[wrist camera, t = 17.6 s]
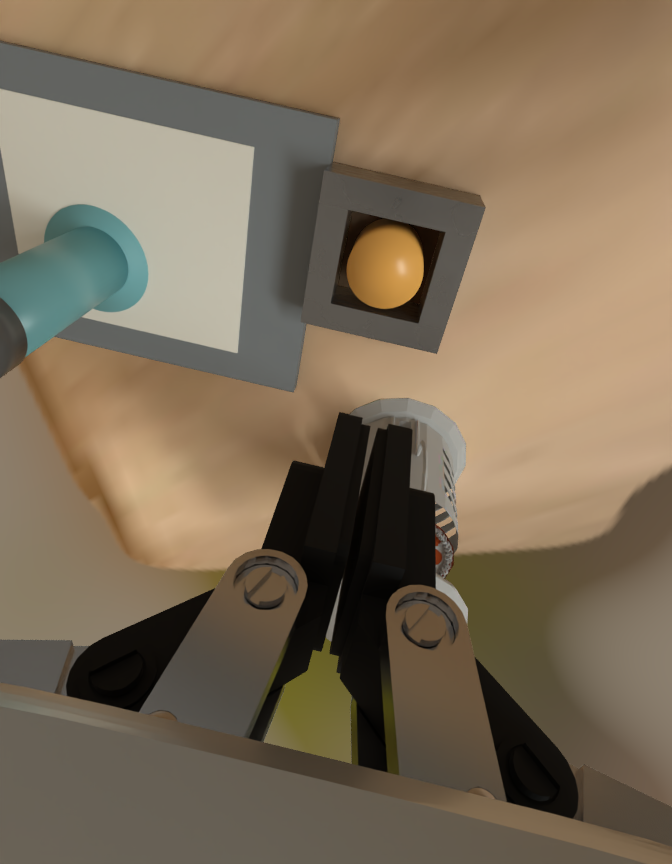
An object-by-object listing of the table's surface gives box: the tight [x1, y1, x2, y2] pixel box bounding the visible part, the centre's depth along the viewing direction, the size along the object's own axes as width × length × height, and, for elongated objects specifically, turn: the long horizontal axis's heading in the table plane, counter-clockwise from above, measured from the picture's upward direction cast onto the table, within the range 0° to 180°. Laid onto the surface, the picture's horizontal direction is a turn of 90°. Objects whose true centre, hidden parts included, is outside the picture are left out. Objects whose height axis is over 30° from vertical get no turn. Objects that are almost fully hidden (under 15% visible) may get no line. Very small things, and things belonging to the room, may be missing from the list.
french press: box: [326, 398, 468, 641], centre depth 27 cm, size 10×12×25 cm
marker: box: [0, 227, 128, 378], centre depth 27 cm, size 4×4×12 cm
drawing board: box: [0, 41, 340, 392], centre depth 31 cm, size 20×16×1 cm
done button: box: [347, 219, 424, 309], centre depth 28 cm, size 4×4×3 cm
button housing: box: [301, 162, 486, 354], centre depth 29 cm, size 8×8×3 cm
